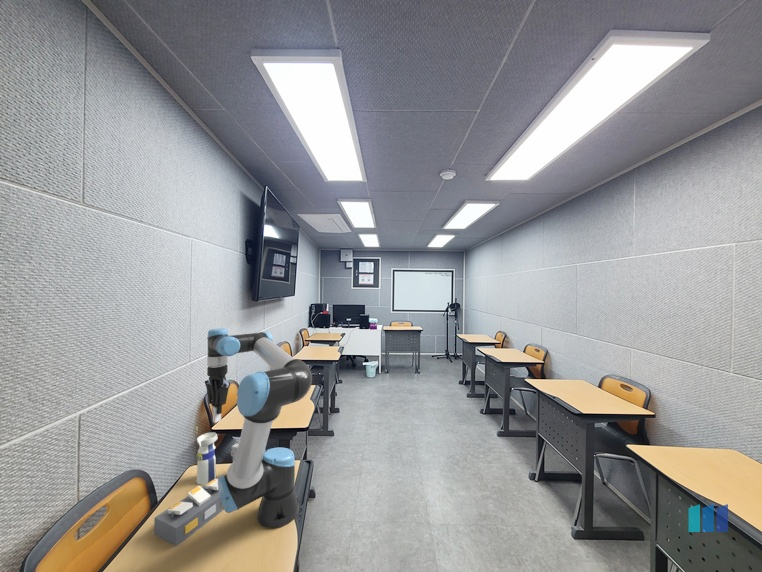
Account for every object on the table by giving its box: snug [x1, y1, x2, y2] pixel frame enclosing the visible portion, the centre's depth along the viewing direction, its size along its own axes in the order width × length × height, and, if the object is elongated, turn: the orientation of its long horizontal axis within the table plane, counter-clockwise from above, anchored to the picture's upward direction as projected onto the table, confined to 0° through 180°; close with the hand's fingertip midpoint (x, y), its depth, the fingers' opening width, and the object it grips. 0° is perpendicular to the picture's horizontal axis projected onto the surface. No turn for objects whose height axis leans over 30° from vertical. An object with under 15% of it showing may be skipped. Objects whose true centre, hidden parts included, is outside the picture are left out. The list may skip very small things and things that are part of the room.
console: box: [153, 477, 225, 547], centre depth 110 cm, size 12×24×8 cm, turn 157°
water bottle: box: [195, 426, 218, 485], centre depth 132 cm, size 8×9×25 cm
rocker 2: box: [186, 485, 211, 506], centre depth 110 cm, size 7×4×1 cm, turn 67°
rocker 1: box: [167, 501, 193, 515], centre depth 104 cm, size 7×4×1 cm, turn 67°
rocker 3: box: [204, 479, 218, 490], centre depth 117 cm, size 7×4×1 cm, turn 67°
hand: (217, 421), depth 123 cm, fingers closed
